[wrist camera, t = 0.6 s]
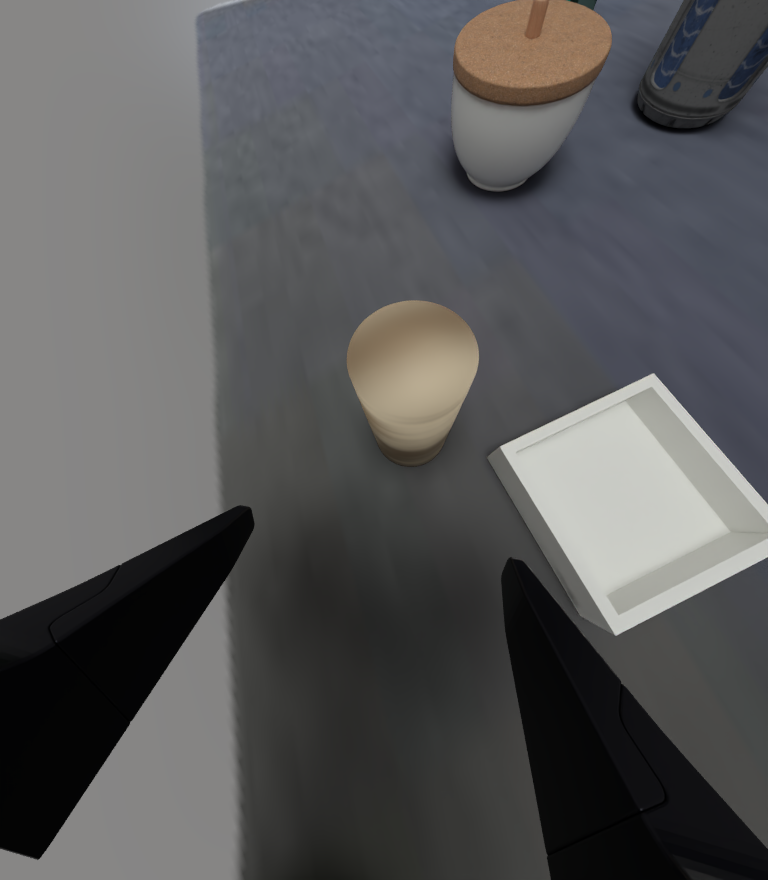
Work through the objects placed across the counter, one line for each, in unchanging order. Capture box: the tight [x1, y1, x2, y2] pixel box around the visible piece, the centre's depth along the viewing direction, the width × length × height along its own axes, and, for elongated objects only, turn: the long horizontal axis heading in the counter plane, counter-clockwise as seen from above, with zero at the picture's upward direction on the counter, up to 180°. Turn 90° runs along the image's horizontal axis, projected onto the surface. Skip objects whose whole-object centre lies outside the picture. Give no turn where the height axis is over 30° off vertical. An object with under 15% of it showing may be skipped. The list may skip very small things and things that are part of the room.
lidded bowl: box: [451, 0, 612, 192], centre depth 27 cm, size 13×13×11 cm
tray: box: [487, 373, 768, 636], centre depth 20 cm, size 13×13×4 cm
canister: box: [347, 300, 479, 467], centre depth 18 cm, size 6×6×12 cm
